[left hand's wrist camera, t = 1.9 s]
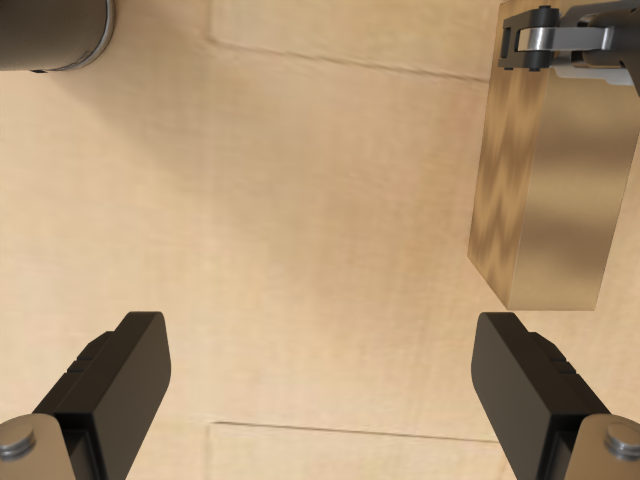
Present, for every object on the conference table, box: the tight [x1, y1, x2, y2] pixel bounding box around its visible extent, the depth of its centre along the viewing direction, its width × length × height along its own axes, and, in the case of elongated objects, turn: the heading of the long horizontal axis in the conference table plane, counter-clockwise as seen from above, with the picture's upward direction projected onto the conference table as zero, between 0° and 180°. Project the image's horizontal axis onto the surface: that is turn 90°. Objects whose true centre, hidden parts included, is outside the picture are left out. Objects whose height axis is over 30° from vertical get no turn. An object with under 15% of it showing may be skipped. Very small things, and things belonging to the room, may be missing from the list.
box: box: [467, 0, 640, 311], centre depth 32 cm, size 20×6×9 cm, turn 0°
